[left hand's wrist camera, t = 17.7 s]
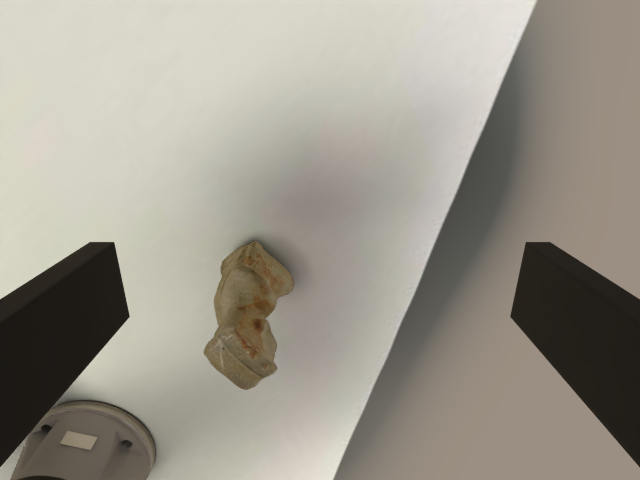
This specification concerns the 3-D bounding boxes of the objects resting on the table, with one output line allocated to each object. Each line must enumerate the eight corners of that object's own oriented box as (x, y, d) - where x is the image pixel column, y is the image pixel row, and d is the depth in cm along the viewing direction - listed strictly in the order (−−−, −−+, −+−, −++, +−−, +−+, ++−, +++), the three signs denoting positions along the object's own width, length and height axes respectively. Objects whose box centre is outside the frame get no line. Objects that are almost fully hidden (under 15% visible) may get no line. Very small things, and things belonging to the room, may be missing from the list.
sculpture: (260, 304, 42) (231, 409, 28) (218, 255, 40) (163, 342, 26) (303, 277, 41) (294, 373, 27) (262, 225, 39) (229, 299, 25)
